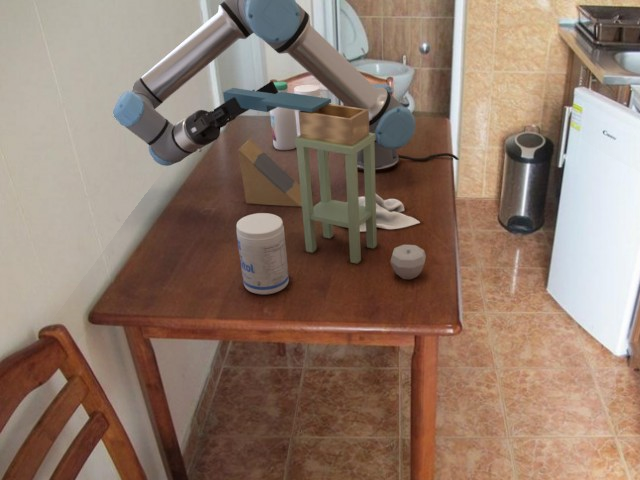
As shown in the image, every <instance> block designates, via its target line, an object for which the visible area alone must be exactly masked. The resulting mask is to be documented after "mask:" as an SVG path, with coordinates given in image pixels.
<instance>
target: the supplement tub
mask: <svg viewBox="0 0 640 480" xmlns="http://www.w3.org/2000/svg"><path fill="white" fill-rule="evenodd" d="M235 226H236V239H237V240H236V241H237V249H238V253H239V262H240V268H241V275H242V281H243V286H244V288H245V289H246V291H249V292H250V293H253V294H256V295H271V294H272V295H273V294H276V293H278V292H280V291H282V290H284V289H285V288H286V287H287V286H288V284H289V281H290V278H289V277H290V276H289V265H288V256H287V244H286V234H285V233H286V232H285V226H284V222H283V218H281V217H280V216H278V215H276V214H273V213H267V212H258V213H251V214H248V215H246V216H243V217H241V218H240V219H239V220H238V221H237V222H236V225H235Z"/></svg>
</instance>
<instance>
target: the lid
mask: <svg viewBox="0 0 640 480" xmlns="http://www.w3.org/2000/svg"><path fill="white" fill-rule="evenodd" d="M222 95H223V103H225V102H227V101H228V100H230V99H231V98H233V97H235V98H236V100H237V102H238V103H239V105H240V107H241V108H244V109H249V110H250V111H258V112H264V113H270V111H271V110H273V109H275V108H277V107H281V108H287V109H294V110H300V111H307V112H314V111H316V110H318V109H320V108H321V107H323V106H325V105H327V104H332V98H328V97H322V98H321V97H314V96H307V95H300V94H294V92H288V91H287V92H279V93H277V94H272V93H265V92H258V91H257V90H255V91H252V90H251V89H244V88H236V87H232V88H229V89H227V90H224V91H222Z"/></svg>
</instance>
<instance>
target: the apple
mask: <svg viewBox="0 0 640 480" xmlns="http://www.w3.org/2000/svg"><path fill="white" fill-rule="evenodd" d="M426 258H427V255H426V252H425V250H424V249H423V248H421V247H420V246H418V245H416V244H402V245H399V246H396V247H394V248H393V251H392V253H391V258H390V260H389V261H390V264H391V267H392V270H393V272H394V273H395V274H396V275H397V276H399V277H400V278H401V279H403V280H413V279H415V278H417V277H419V275H421V273H422V271H423V269H424V266H425V264H426V263H425V262H426Z"/></svg>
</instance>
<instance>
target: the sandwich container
mask: <svg viewBox="0 0 640 480" xmlns="http://www.w3.org/2000/svg"><path fill="white" fill-rule="evenodd" d="M237 150H238V151H237V152H238V159H239V165H240V173H241V177H242V184H243V191H244V198H245V204H250V205H251V204H252V205H254V204H255V205H263V206H265V205H267V206H282V207H283V206H284V207H301V208H302V202H301V191H300V183H299V182H297V181H296V180H295V179H293V178H292V177H291V176H290V175H289V174H288V173H287V172H286V171H284V169H282V167H281V166H279V165H278V164H277V163H276V162H275V161H274V160H273V159H272V158H271V157H270V156H269V155H268V154H267V153H266V152H264V151H263V150H262V149H261V148H260V146H259V145H257V144H256V143H255V142H254V141H253V140H252V139H251V138H249V139H248V140H247V141H246V142H244V143H243V144H242V145H241V146H240V147H239V148H238V149H237Z"/></svg>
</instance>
